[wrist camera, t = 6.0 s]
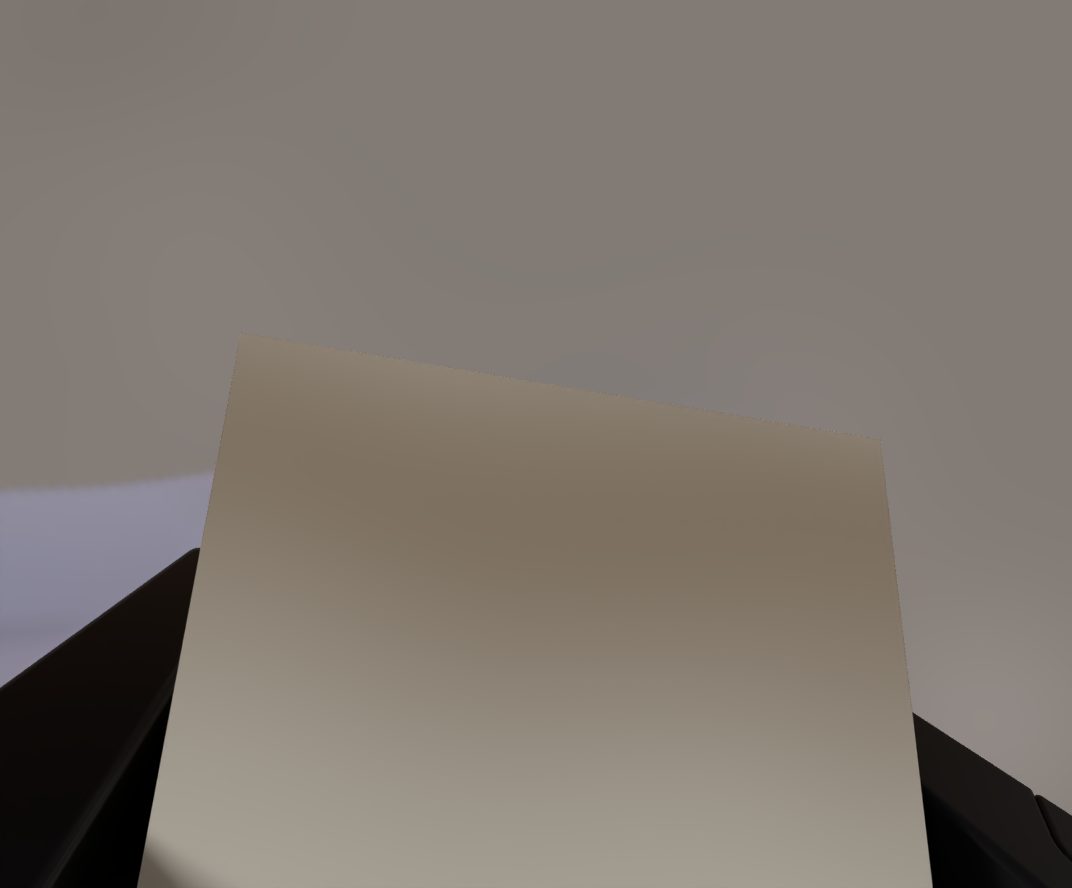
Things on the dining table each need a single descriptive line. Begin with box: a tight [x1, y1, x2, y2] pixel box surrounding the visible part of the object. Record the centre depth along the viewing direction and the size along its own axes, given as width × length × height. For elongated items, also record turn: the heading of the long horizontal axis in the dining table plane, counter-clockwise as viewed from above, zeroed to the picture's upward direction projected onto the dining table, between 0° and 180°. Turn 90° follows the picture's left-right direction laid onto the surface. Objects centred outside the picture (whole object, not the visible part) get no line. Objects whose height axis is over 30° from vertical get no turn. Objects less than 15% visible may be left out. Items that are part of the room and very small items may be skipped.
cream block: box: [137, 333, 933, 888], centre depth 10 cm, size 5×5×10 cm
